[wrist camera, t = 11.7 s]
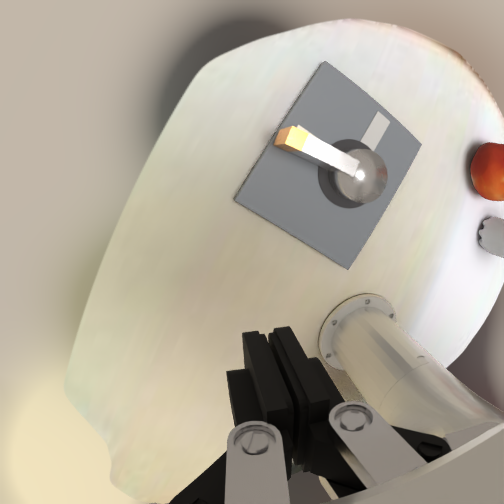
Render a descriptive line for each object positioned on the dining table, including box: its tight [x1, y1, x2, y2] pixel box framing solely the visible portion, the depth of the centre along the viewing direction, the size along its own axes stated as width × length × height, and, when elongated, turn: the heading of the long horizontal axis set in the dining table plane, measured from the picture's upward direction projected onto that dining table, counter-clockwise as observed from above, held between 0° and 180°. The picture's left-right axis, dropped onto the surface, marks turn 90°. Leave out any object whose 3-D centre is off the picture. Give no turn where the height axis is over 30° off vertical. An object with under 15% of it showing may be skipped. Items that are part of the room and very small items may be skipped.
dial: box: [273, 126, 388, 203], centre depth 33 cm, size 13×6×5 cm, turn 67°
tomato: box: [470, 142, 504, 201], centre depth 37 cm, size 9×9×8 cm
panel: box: [234, 61, 422, 270], centre depth 37 cm, size 17×20×2 cm
